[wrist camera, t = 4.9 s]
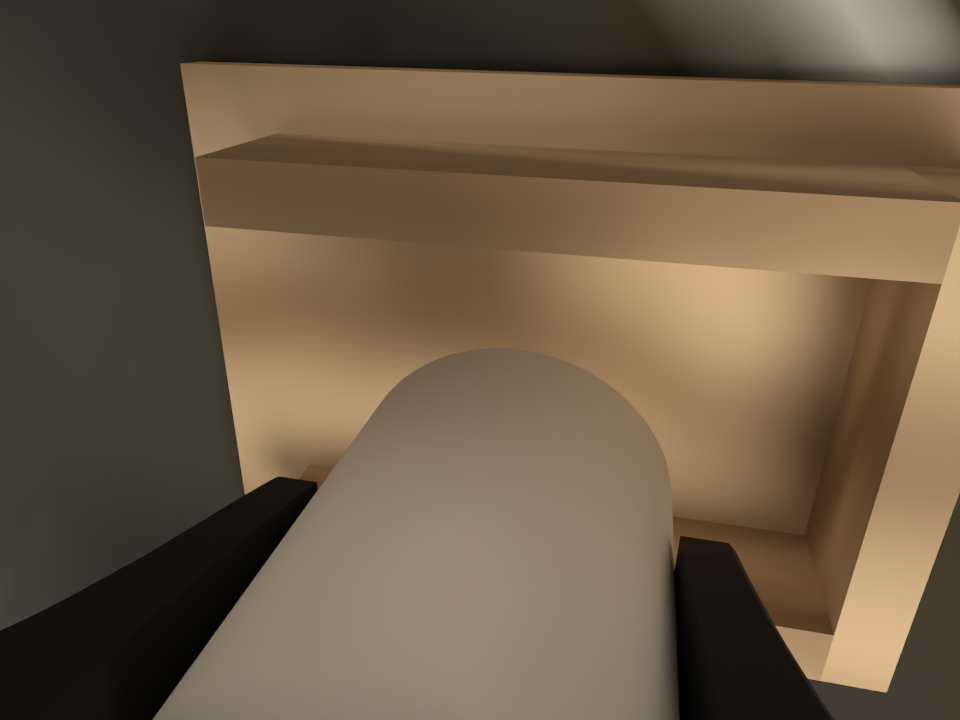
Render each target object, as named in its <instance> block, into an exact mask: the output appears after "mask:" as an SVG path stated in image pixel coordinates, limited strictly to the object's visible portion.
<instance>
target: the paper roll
mask: <svg viewBox="0 0 960 720" xmlns="http://www.w3.org/2000/svg"><path fill="white" fill-rule="evenodd" d="M153 720H680V713H679V685H678V656H677V631H676V603H675V574H674V542H673V513H672V492H671V479H670V475H669V471H668V466H667V462H666V459H665V457H664V454H663V452H662V449H661V447H660V444H659V442H658V441H657V439H656V437H655V436H654V434H653V432H652V430H651V429H650V427H649V425H648V424H647V423H646V422H645V420H644V419H643V418H642V416H641V415H640V414H639V413H638V411H637V410H636V409H635V408H634V407H633V406H632V405H631V404H630V403H629V402H628V401H627V400H626V399H625V398H624V397H623V396H622V395H621V394H620V393H619V392H617V391H616V390H615V389H613V388H612V387H611V386H609V385H608V384H607V383H605V382H604V381H603V380H601V379H599V378H598V377H596V376H594V375H593V374H591V373H589V372H587V371H586V370H584V369H582V368H580V367H578V366H575V365H573V364H571V363H568V362H566V361H564V360H561V359H558V358H555V357H551V356H548V355H545V354H541V353H536V352H531V351H525V350H520V349H505V348H488V349H474V350H469V351H464V352H459V353H454V354H451V355H448V356H445V357H442V358H439V359H436V360H434V361H432V362H430V363H428V364H426V365H424V366H422V367H420V368H418V369H416V370H415V371H413V372H412V373H411V374H409V375H408V376H406V377H405V378H403V379H402V380H401V381H400V382H399V383H398V384H397V385H396V386H395V387H394V388H393V389H392V390H391V391H389V393H388V394H387V395H386V397H385V398H384V399H383V401H382V402H381V403H380V405H379V406H378V407H377V409H376V410H375V411H374V413H373V414H372V416H371V417H370V418H369V420H368V421H367V423H366V424H365V425H364V427H363V428H362V429H361V431H360V432H359V434H358V435H357V436H356V438H355V439H354V441H353V442H352V443H351V445H350V446H349V447H348V449H347V450H346V452H345V453H344V454H343V456H342V457H341V459H340V460H339V461H338V463H337V464H336V466H335V467H334V468H333V470H332V471H331V472H330V474H329V475H328V477H327V478H326V479H325V481H324V482H323V484H322V485H321V486H320V488H319V489H318V491H317V492H316V493H315V495H314V496H313V497H312V499H311V500H310V502H309V503H308V504H307V506H306V507H305V509H304V510H303V511H302V513H301V514H300V516H299V517H298V518H297V520H296V521H295V522H294V524H293V525H292V527H291V528H290V529H289V531H288V532H287V534H286V535H285V536H284V538H283V539H282V541H281V542H280V543H279V545H278V546H277V547H276V549H275V550H274V552H273V553H272V554H271V556H270V557H269V559H268V560H267V561H266V563H265V564H264V565H263V567H262V568H261V570H260V571H259V572H258V574H257V575H256V577H255V578H254V579H253V581H252V582H251V584H250V585H249V586H248V588H247V589H246V590H245V592H244V593H243V595H242V596H241V597H240V599H239V600H238V602H237V603H236V604H235V606H234V607H233V609H232V610H231V611H230V613H229V614H228V615H227V617H226V618H225V620H224V621H223V622H222V624H221V625H220V627H219V628H218V629H217V631H216V632H215V634H214V635H213V636H212V638H211V639H210V640H209V642H208V643H207V645H206V646H205V647H204V649H203V650H202V652H201V653H200V654H199V656H198V657H197V658H196V660H195V661H194V663H193V664H192V665H191V667H190V668H189V670H188V671H187V672H186V674H185V675H184V677H183V678H182V679H181V681H180V682H179V683H178V685H177V686H176V688H175V689H174V690H173V692H172V693H171V695H170V696H169V697H168V699H167V700H166V702H165V703H164V704H163V706H162V707H161V708H160V710H159V711H158V713H157V714H156V715H155V717H154V718H153Z"/></svg>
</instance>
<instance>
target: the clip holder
mask: <svg viewBox="0 0 960 720" xmlns="http://www.w3.org/2000/svg"><path fill="white" fill-rule="evenodd" d="M180 66H181V73H182V80H183V86H184V93H185V99H186V106H187V113H188V119H189V126H190V133H191V139H192V146H193V153H194V159H195V166H196V173H197V179H198V186H199V193H200V199H201V206H202V212H203V219H204V226H205V232H206V239H207V246H208V252H209V259H210V266H211V272H212V279H213V286H214V292H215V299H216V305H217V312H218V319H219V325H220V332H221V339H222V345H223V352H224V359H225V365H226V372H227V379H228V385H229V392H230V398H231V405H232V412H233V418H234V425H235V432H236V438H237V445H238V452H239V458H240V465H241V472H242V478H243V485H244V492H245V495H246V494H247V493H249V492H251V491H253V490H254V489H256V488H258V487H259V486H261V485H263V484H265V483H266V482H268V481H270V480H272V479H274V478H276V477H278V476H280V477H287V478H293V479H300V480H307V481H314V482H317V488H318V489H319V488H320V486H321V485H322V484H323V482H324V481H325V479H326V478H327V477H328V475H329V474H330V472H331V471H332V470H333V468H334V467H335V466H336V464H337V463H338V461H339V460H340V459H341V457H342V456H343V454H344V453H345V452H346V450H347V449H348V447H349V446H350V445H351V443H352V442H353V441H354V439H355V438H356V436H357V435H358V434H359V432H360V431H361V429H362V428H363V427H364V425H365V424H366V423H367V421H368V420H369V418H370V417H371V416H372V414H373V413H374V411H375V410H376V409H377V407H378V406H379V405H380V403H381V402H382V401H383V399H384V398H385V397H386V395H387V394H388V393H389V391H391V390H392V389H393V388H394V387H395V386H396V385H397V384H398V383H399V382H400V381H401V380H402V379H403V378H405V377H406V376H408V375H409V374H411V373H412V372H413V371H415V370H416V369H418V368H420V367H422V366H424V365H426V364H428V363H430V362H432V361H434V360H436V359H439V358H442V357H445V356H448V355H451V354H454V353H459V352H464V351H469V350H474V349H488V348H505V349H520V350H525V351H531V352H536V353H541V354H545V355H548V356H551V357H555V358H558V359H561V360H564V361H566V362H568V363H571V364H573V365H575V366H578V367H580V368H582V369H584V370H586V371H587V372H589V373H591V374H593V375H594V376H596V377H598V378H599V379H601V380H603V381H604V382H605V383H607V384H608V385H609V386H611V387H612V388H613V389H615V390H616V391H617V392H619V393H620V394H621V395H622V396H623V397H624V398H625V399H626V400H627V401H628V402H629V403H630V404H631V405H632V406H633V407H634V408H635V409H636V410H637V411H638V413H639V414H640V415H641V416H642V418H643V419H644V420H645V422H646V423H647V424H648V425H649V427H650V429H651V430H652V432H653V434H654V436H655V437H656V439H657V441H658V442H659V444H660V447H661V449H662V452H663V454H664V457H665V459H666V462H667V466H668V471H669V475H670V479H671V492H672V513H673V542H674V570H675V564H676V558H677V552H678V546H679V541H680V536H685V537H692V538H698V539H705V540H712V541H719V542H725V543H729V544H730V545H731V546H732V547H733V549H734V550H735V551H736V552H737V555H738V557H739V559H740V561H741V563H742V565H743V567H744V569H745V571H746V573H747V575H748V577H749V579H750V581H751V583H752V585H753V587H754V588H755V590H756V592H757V594H758V596H759V598H760V600H761V601H762V603H763V605H764V607H765V609H766V610H767V612H768V614H769V616H770V617H771V619H772V621H773V623H774V625H775V626H776V628H777V630H778V631H779V633H780V635H781V637H782V638H783V640H784V642H785V643H786V645H787V647H788V648H789V650H790V651H791V653H792V655H793V656H794V658H795V659H796V661H797V663H798V664H799V666H800V667H801V669H802V671H803V672H804V674H805V676H806V677H807V678H808V679H813V680H819V681H824V682H830V683H836V684H841V685H847V686H852V687H858V688H864V689H869V690H875V691H880V692H887V690H888V687H889V684H890V681H891V679H892V676H893V673H894V671H895V668H896V665H897V662H898V660H899V657H900V654H901V651H902V649H903V646H904V643H905V640H906V638H907V635H908V632H909V630H910V627H911V624H912V621H913V619H914V616H915V613H916V610H917V608H918V605H919V602H920V599H921V597H922V594H923V591H924V589H925V586H926V583H927V580H928V578H929V575H930V572H931V569H932V567H933V564H934V561H935V558H936V556H937V553H938V550H939V548H940V545H941V542H942V539H943V537H944V534H945V531H946V528H947V526H948V523H949V520H950V517H951V515H952V512H953V509H954V507H955V504H956V501H957V498H958V496H959V493H960V85H935V84H903V83H871V82H839V81H807V80H775V79H743V78H711V77H679V76H647V75H615V74H583V73H551V72H519V71H487V70H455V69H423V68H391V67H359V66H327V65H295V64H263V63H231V62H191V63H180Z"/></svg>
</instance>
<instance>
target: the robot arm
mask: <svg viewBox="0 0 960 720" xmlns="http://www.w3.org/2000/svg"><path fill="white" fill-rule="evenodd" d="M317 491H318V488H317V482H314V481H307V480H300V479H293V478H287V477H280V476H278V477H276V478H274V479H272V480H270V481H268V482H266V483H265V484H263V485H261V486H259V487H258V488H256V489H254V490H253V491H251V492H249V493H247V494H246V495H244V496H242V497H241V498H239V499H238V500H236V501H234V502H233V503H231V504H229V505H228V506H226V507H224V508H223V509H221V510H219V511H218V512H216V513H215V514H213V515H211V516H210V517H208V518H206V519H205V520H203V521H202V522H200V523H198V524H197V525H195V526H193V527H192V528H190V529H188V530H187V531H185V532H183V533H182V534H180V535H178V536H177V537H175V538H173V539H172V540H170V541H168V542H167V543H165V544H163V545H162V546H160V547H158V548H157V549H155V550H153V551H152V552H150V553H148V554H146V555H145V556H143V557H141V558H139V559H137V560H136V561H134V562H132V563H130V564H128V565H127V566H125V567H123V568H121V569H119V570H118V571H116V572H114V573H112V574H110V575H108V576H107V577H105V578H103V579H101V580H99V581H98V582H96V583H94V584H92V585H90V586H89V587H87V588H85V589H83V590H81V591H79V592H78V593H76V594H74V595H72V596H70V597H69V598H67V599H65V600H63V601H61V602H59V603H57V604H55V605H53V606H51V607H49V608H47V609H45V610H43V611H41V612H39V613H37V614H35V615H33V616H31V617H29V618H27V619H25V620H23V621H20V622H18V623H16V624H14V625H12V626H10V627H7V628H5V629H3V630H1V631H0V720H153V718H154V717H155V715H156V714H157V713H158V711H159V710H160V708H161V707H162V706H163V704H164V703H165V702H166V700H167V699H168V697H169V696H170V695H171V693H172V692H173V690H174V689H175V688H176V686H177V685H178V683H179V682H180V681H181V679H182V678H183V677H184V675H185V674H186V672H187V671H188V670H189V668H190V667H191V665H192V664H193V663H194V661H195V660H196V658H197V657H198V656H199V654H200V653H201V652H202V650H203V649H204V647H205V646H206V645H207V643H208V642H209V640H210V639H211V638H212V636H213V635H214V634H215V632H216V631H217V629H218V628H219V627H220V625H221V624H222V622H223V621H224V620H225V618H226V617H227V615H228V614H229V613H230V611H231V610H232V609H233V607H234V606H235V604H236V603H237V602H238V600H239V599H240V597H241V596H242V595H243V593H244V592H245V590H246V589H247V588H248V586H249V585H250V584H251V582H252V581H253V579H254V578H255V577H256V575H257V574H258V572H259V571H260V570H261V568H262V567H263V565H264V564H265V563H266V561H267V560H268V559H269V557H270V556H271V554H272V553H273V552H274V550H275V549H276V547H277V546H278V545H279V543H280V542H281V541H282V539H283V538H284V536H285V535H286V534H287V532H288V531H289V529H290V528H291V527H292V525H293V524H294V522H295V521H296V520H297V518H298V517H299V516H300V514H301V513H302V511H303V510H304V509H305V507H306V506H307V504H308V503H309V502H310V500H311V499H312V497H313V496H314V495H315V493H316V492H317ZM674 574H675V603H676V631H677V656H678V685H679V713H680V720H834V719H833V717H832V716H831V714H830V713H829V711H828V710H827V708H826V707H825V705H824V704H823V702H822V701H821V699H820V698H819V696H818V695H817V693H816V692H815V690H814V688H813V687H812V685H811V684H810V682H809V680H808V679H807V677H806V676H805V674H804V672H803V671H802V669H801V667H800V666H799V664H798V663H797V661H796V659H795V658H794V656H793V655H792V653H791V651H790V650H789V648H788V647H787V645H786V643H785V642H784V640H783V638H782V637H781V635H780V633H779V631H778V630H777V628H776V626H775V625H774V623H773V621H772V619H771V617H770V616H769V614H768V612H767V610H766V609H765V607H764V605H763V603H762V601H761V600H760V598H759V596H758V594H757V592H756V590H755V588H754V587H753V585H752V583H751V581H750V579H749V577H748V575H747V573H746V571H745V569H744V567H743V565H742V563H741V561H740V559H739V557H738V555H737V552H736V551H735V550H734V549H733V547H732V546H731V545H730V544H729V543H725V542H719V541H712V540H705V539H698V538H692V537H685V536H680V541H679V546H678V552H677V558H676V564H675V570H674Z"/></svg>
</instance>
